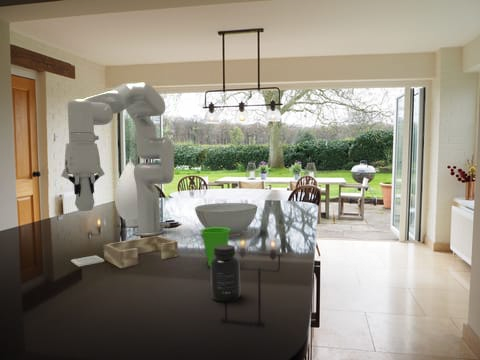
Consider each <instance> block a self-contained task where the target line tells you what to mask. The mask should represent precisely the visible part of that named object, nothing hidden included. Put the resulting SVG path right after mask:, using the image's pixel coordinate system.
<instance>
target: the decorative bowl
mask: <svg viewBox="0 0 480 360" xmlns="http://www.w3.org/2000/svg"><path fill="white" fill-rule="evenodd" d="M258 207H259V206H258V205H257V204H253V203H247V202H245V203H244V202H220V203H219V202H218V203H217V202H216V203H208V204H207V203H206V204H201V205H198V206H197V205H196V206H195V207H194V211H195V214H196V216H197V219H198V220H199V222H200V223H201V225H202V226H203V227H204V229H205V228H210V227H225V228H229V229H230V231H229V238H234V237H238V236H240V235H242V232H244V231H245V230H246V229H247V228H249V226H250V225H251V224H252V223H253V222H254V219H255V217H256V215H257V212H258Z"/></svg>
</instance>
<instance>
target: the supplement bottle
mask: <svg viewBox="0 0 480 360" xmlns="http://www.w3.org/2000/svg"><path fill="white" fill-rule="evenodd" d="M214 256H215V258H213V259H212V261H211V267H210V285H211V286H210V287H211V289H210V292H211V298H212V299H213V300H214V301H216V302H220V303H229V302H234V301H236V300H238V299H239V298H240V297H241V274H240V273H241V269H240V266H241V265H240V260H239V258H238V257H236V250H235V246H234V245H232V244H228V245H219V246H216V247H214Z"/></svg>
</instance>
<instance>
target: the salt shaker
mask: <svg viewBox="0 0 480 360" xmlns="http://www.w3.org/2000/svg"><path fill="white" fill-rule="evenodd" d="M89 177H90V174H89V173H87V172H84V173H82V174H79V184H80V185H81V193H80V197H79V194H75V201H74V204H75V205H74V206H75V207H76V209H77V210H78V211H79V212H89V211H92V210H93V208H94V206H95V199H94V195H93V196H92V193H91V189H90V180H89Z"/></svg>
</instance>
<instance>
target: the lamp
mask: <svg viewBox="0 0 480 360" xmlns="http://www.w3.org/2000/svg"><path fill="white" fill-rule="evenodd" d="M135 166H136V165H135V164H134V162H132V157H131V156H129V161H128V162H127V163H126V165H125V167H124V169H123V170H122V173H121V174H120V177H119V179H118V181H117V183H116V186H115V191H114V204H115V208H116V212H117V213H118V215H119V217H121V218H122V220H124V221H125V220H126V222H125V227H127V228H134V227H138V209H137V189H136V182H135V178H134V168H135Z"/></svg>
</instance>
